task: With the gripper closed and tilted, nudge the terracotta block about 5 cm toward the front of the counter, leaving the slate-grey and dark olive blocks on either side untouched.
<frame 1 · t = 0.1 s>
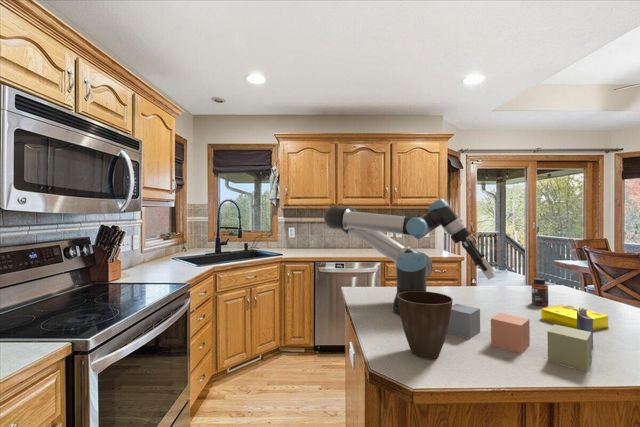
hand: (491, 274, 123), 15 cm above the worktop, tool tilted 35°, fingers open, 13 cm apart
plant pot: (424, 353, 87), on the worktop
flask: (584, 344, 93), on the worktop
slate block: (463, 332, 102), on the worktop
terracotta block: (510, 345, 92), on the worktop
element tile: (573, 324, 112), on the worktop
supplement bottle: (540, 305, 134), on the worktop
olive block: (569, 361, 81), on the worktop
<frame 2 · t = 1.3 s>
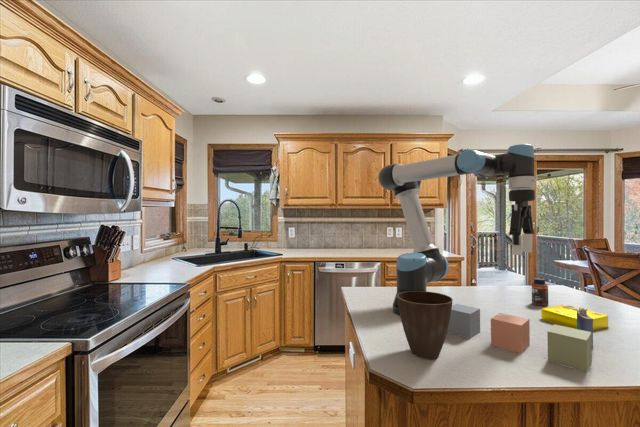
hand: (522, 253, 105), 26 cm above the worktop, tool pointing down, fingers open, 11 cm apart
nothing on the worktop moved.
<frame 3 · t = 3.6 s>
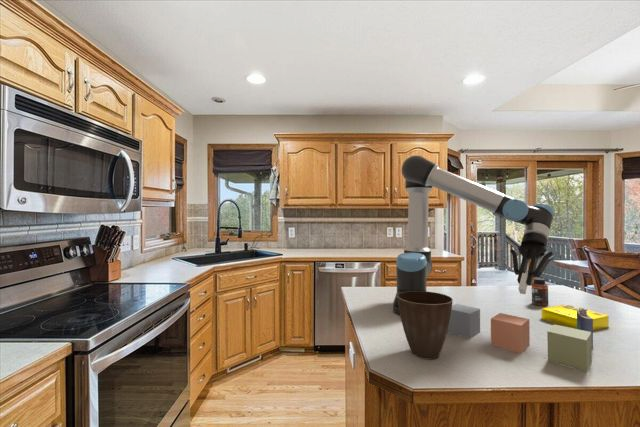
hand: (521, 291, 100), 14 cm above the worktop, tool tilted 45°, fingers closed
nothing on the worktop moved.
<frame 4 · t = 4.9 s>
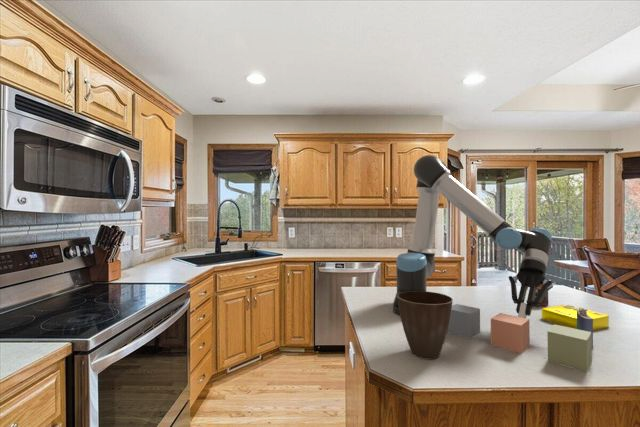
hand: (520, 322, 98), 5 cm above the worktop, tool tilted 45°, fingers closed
nothing on the worktop moved.
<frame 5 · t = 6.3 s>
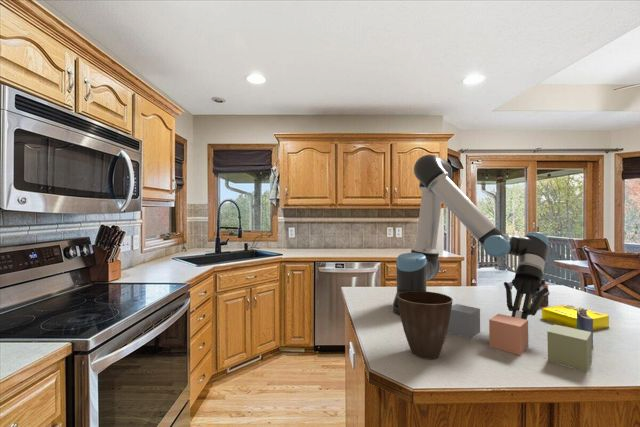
hand: (515, 331, 94), 3 cm above the worktop, tool tilted 45°, fingers closed
terracotta block: (508, 346, 91), on the worktop, touching gripper
everything else where it was.
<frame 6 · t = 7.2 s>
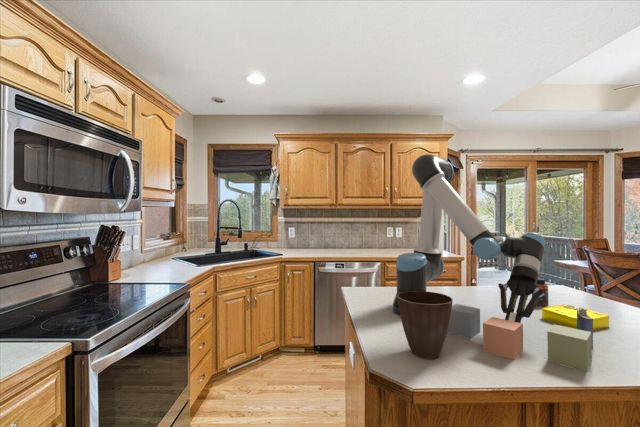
hand: (509, 333, 91), 4 cm above the worktop, tool tilted 45°, fingers closed
terracotta block: (503, 351, 88), on the worktop, touching gripper
everything else where it was.
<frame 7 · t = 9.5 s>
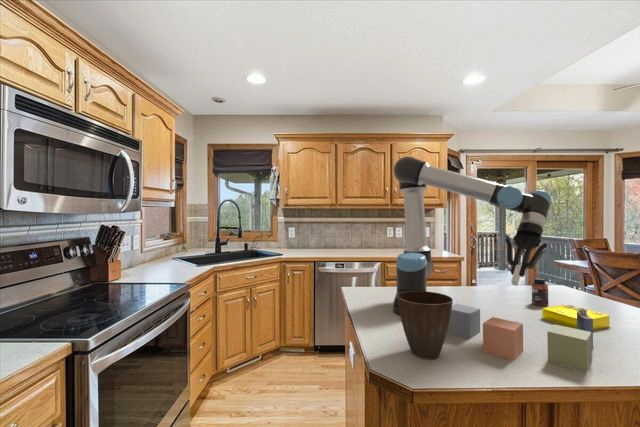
hand: (514, 283, 103), 16 cm above the worktop, tool tilted 40°, fingers closed
terracotta block: (503, 351, 88), on the worktop
everything else where it was.
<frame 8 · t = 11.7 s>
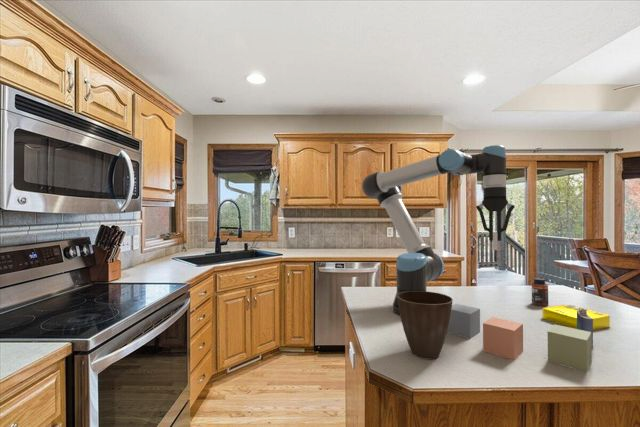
hand: (495, 249, 115), 26 cm above the worktop, tool pointing down, fingers closed
nothing on the worktop moved.
at the end: terracotta block 0.8 cm from the target spot, on the worktop; slate block moved 0.1 cm from its start; olive block moved 0.1 cm from its start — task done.
